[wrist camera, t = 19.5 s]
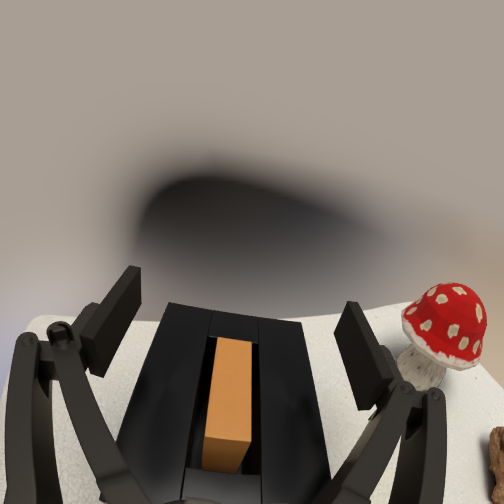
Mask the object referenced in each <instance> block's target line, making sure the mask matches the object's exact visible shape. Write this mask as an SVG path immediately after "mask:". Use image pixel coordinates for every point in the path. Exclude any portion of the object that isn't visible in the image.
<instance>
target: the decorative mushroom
mask: <svg viewBox="0 0 504 504" xmlns="http://www.w3.org/2000/svg"><path fill="white" fill-rule="evenodd" d="M401 317H402V329H403V331H404V333H405V334H406V335H407V337H408V338H409V340H410V341H411V342H412V344H411V345H409V346H408V347H407V348H406V349H405V350H404V351H403V352H402V353H401V354H400V355H399V357H398V358H397V367H398V369H399V371H400V373H401V375H402V377H403V379H404V381H408V382H410V383H411V384H413V386H414V387H415V389H416V390H417V391H421V392H423V391H427V390H428V389H429V388H431V387H437V386H438V385H439V384H440V382H441V380H442V379H443V377H444V374H445V372H446V367H447V368H451V369H454V370H458V371H462V370H465V369H469V368H472V367H475V366H476V365H478V363H479V360H480V357H481V354H482V339H483V336H484V333H485V330H486V326H487V318H486V312H485V309H484V306H483V303H482V302H481V300H480V298H479V297H478V296H477V294H476V293H475V292H474V291H473V290H472V289H470V288H469V287H467V286H465V285H462V284H458V283H450V282H448V283H442V284H438V285H436V286H434V287H432V288H430V289H429V290H428V291H427V292H426V293H425V294H424V295H423V296H422V297H421V298H420V299H419V300H418V301H415V302H413V303H411V304H410V305H409V306H407V307H406V308H405V309H403V310H402V314H401Z"/></svg>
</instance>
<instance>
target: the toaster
mask: <svg viewBox="0 0 504 504" xmlns="http://www.w3.org/2000/svg"><path fill="white" fill-rule="evenodd" d="M218 337H221V338H227V339H234V340H241V341H248V342H252V377H251V443H250V445H249V447H248V449H247V452H246V454H245V456H244V458H243V460H242V462H241V464H240V466H239V468H238V470H237V472H236V474H233V473H223V472H214V471H207V470H200V469H201V460H202V451H203V443H204V435H205V427H206V419H207V411H208V403H209V396H210V388H211V381H212V374H213V367H214V360H215V353H216V346H217V339H218ZM115 443H116V445H117V447H118V449H119V450H120V452H121V454H122V456H123V458H124V460H125V461H126V463H127V465H128V467H129V468H130V470H131V472H132V473H133V475H134V476H135V478H136V480H137V481H138V483H139V484H140V486H141V488H142V489H143V491H144V492H145V494H146V495H147V497H148V498H149V499H150V501H151V502H152V504H164V503H166V502H170V501H175V500H185V496H189V497H195V498H202V499H209V500H214V501H217V502H220V503H223V504H262V503H289V504H313V503H314V502H315V501H316V500H317V498H318V497H319V496H320V495H321V493H322V492H323V491H324V490H325V488H326V487H327V486H328V484H329V483H330V482H331V474H330V468H329V462H328V456H327V450H326V444H325V438H324V433H323V427H322V422H321V417H320V411H319V406H318V401H317V396H316V391H315V385H314V380H313V376H312V371H311V366H310V361H309V356H308V351H307V347H306V342H305V337H304V333H303V328H302V324H301V322H294V321H285V320H277V319H270V318H262V317H254V316H248V315H241V314H234V313H228V312H221V311H216V310H213V311H212V310H209V309H203V308H198V307H192V306H186V305H181V304H176V303H171V302H169V303H168V305H167V307H166V310H165V312H164V314H163V317H162V319H161V321H160V324H159V326H158V329H157V331H156V333H155V336H154V338H153V341H152V343H151V346H150V348H149V351H148V353H147V356H146V359H145V361H144V364H143V366H142V369H141V372H140V374H139V377H138V380H137V382H136V385H135V388H134V390H133V393H132V396H131V399H130V401H129V404H128V407H127V410H126V413H125V416H124V419H123V422H122V424H121V427H120V430H119V433H118V437H117V440H116V441H115ZM99 500H100V501H101V502H102V503H104V504H107V502H106V501H105V499H104V497H103V495H102V493H100V497H99Z"/></svg>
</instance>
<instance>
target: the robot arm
mask: <svg viewBox="0 0 504 504" xmlns="http://www.w3.org/2000/svg"><path fill="white" fill-rule="evenodd" d="M141 304H142V303H141V268H140V267H135V266H129V267H128V268H127V269H126V270H125V272H124V273H123V274H122V276H121V277H120V278H119V280H118V281H117V282H116V283H115V285H114V286H113V287H112V289H111V290H110V291H109V293H108V294H107V296H106V297H105V298H104V300H103V301H102V302H101V304H97V303H93V302H92V303H90V304H89V305H88V306H85V308H84V309H83V310H82V312H81V314H79V316H78V317H77V318H76V320H75V321H74V322H73V324H72V325H71V326H70V325H69V324H68V323H66V322H63V321H59V322H55V323H52V324H51V325H50V326H49V327H48V328H47V332H46V334H47V336H48V339H49V341H40V340H38V337H37V335H36V334H34V333H33V332H25V333H23V334H21V335H20V336H19V337H18V339H17V340H16V344H15V349H14V354H13V359H12V365H11V371H10V377H9V384H8V392H7V402H6V415H5V469H6V481H7V489H6V494H5V499H4V504H63V500H62V494H61V489H60V484H59V478H58V472H57V465H56V457H55V448H54V437H53V421H52V380H58V381H59V383H60V387H61V390H62V394H63V397H64V400H65V404H66V407H67V410H68V413H69V416H70V419H71V422H72V424H73V427H74V430H75V432H76V435H77V438H78V440H79V443H80V445H81V447H82V450H83V452H84V454H85V457H86V459H87V461H88V463H89V465H90V467H91V470H92V472H93V474H94V476H95V478H96V483H97V486H98V488H99V490H100V492H101V493H102V495H103V497H104V499H105V501H106V502H107V504H152V502H151V501H150V499H149V498H148V497H147V495H146V494H145V492H144V491H143V489H142V488H141V486H140V484H139V483H138V481H137V480H136V478H135V476H134V475H133V473H132V472H131V470H130V468H129V467H128V465H127V463H126V461H125V460H124V458H123V456H122V454H121V452H120V450H119V449H118V447H117V445H116V443H115V441H114V439H113V437H112V435H111V433H110V431H109V429H108V427H107V425H106V422H105V420H104V418H103V416H102V414H101V411H100V409H99V407H98V404H97V402H96V400H95V397H94V395H93V392H92V390H91V387H90V384H89V382H88V379H87V376H86V373H85V372H86V370H87V368H89V371H90V374H93V375H96V376H99V377H102V378H104V376H105V374H106V372H107V370H108V368H109V365H110V363H111V361H112V359H113V357H114V355H115V353H116V351H117V349H118V347H119V345H120V343H121V341H122V339H123V338H124V336H125V334H126V332H127V330H128V328H129V326H130V324H131V322H132V320H133V318H134V317H135V315H136V313H137V311H138V309H139V307H140V305H141ZM334 336H335V339H336V342H337V345H338V348H339V351H340V354H341V357H342V360H343V363H344V366H345V369H346V373H347V376H348V379H349V382H350V385H351V389H352V392H353V395H354V398H355V402H356V405H357V408H358V411H361V410H370V409H371V408H372V407H373V406H374V404H376V407H377V410H376V411H375V412H374V413H373V414H372V415H371V417H370V418H369V419H368V420H370V421H369V423H368V424H367V426H366V428H365V430H364V431H363V433H362V435H361V436H360V438H359V440H358V441H357V443H356V445H355V446H354V448H353V449H352V451H351V453H350V454H349V456H348V457H347V459H346V460H345V462H344V463H343V465H342V466H341V468H340V469H339V470H338V472H337V473H336V475H335V476H334V477H333V479H332V480H331V482H330V483H329V484H328V486H327V487H326V488H325V490H324V491H323V492H322V493H321V495H320V496H319V497H318V498H317V500H316V501H315V502H314V503H313V504H371V500H370V496H371V494H372V493H373V491H374V489H375V487H376V486H377V484H378V482H379V480H380V478H381V476H382V474H383V473H384V471H385V469H386V467H387V465H388V463H389V461H390V458H391V456H392V454H393V452H394V450H395V448H396V445H397V443H398V441H399V439H400V436H401V442H400V449H399V455H398V461H397V467H396V472H395V477H394V482H393V486H392V491H391V495H390V499H389V503H388V504H443V497H444V488H445V477H446V460H447V418H446V400H445V395H444V393H443V392H442V391H441V390H440V389H439V388H436V387H431V388H429V389H428V391H427V392H421V391H417V390H416V389H415V387H414V386H413V384H411V383H410V382H408V381H404V379H403V377H402V375H401V373H400V371H399V369H398V367H397V365H396V364H395V361H394V359H393V357H392V355H391V353H390V351H389V350H388V349H387V348H386V347H385V346H384V345H379V343H378V341H377V339H376V337H375V335H374V333H373V331H372V329H371V327H370V325H369V323H368V321H367V319H366V317H365V315H364V313H363V311H362V309H361V307H360V306H359V304H358V302H351V301H347V304H346V306H345V308H344V311H343V313H342V315H341V318H340V320H339V322H338V324H337V327H336V329H335V331H334ZM401 434H402V435H401ZM164 504H223V503H220V502H217V501H214V500H209V499H202V498H195V497H189V496H185V500H175V501H170V502H166V503H164ZM262 504H289V503H262Z"/></svg>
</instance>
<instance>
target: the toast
mask: <svg viewBox="0 0 504 504" xmlns="http://www.w3.org/2000/svg"><path fill="white" fill-rule="evenodd" d="M251 377H252V342H248V341H241V340H234V339H227V338H221V337H218V339H217V346H216V353H215V360H214V367H213V374H212V381H211V388H210V396H209V403H208V411H207V419H206V427H205V435H204V443H203V451H202V460H201V469H200V470H207V471H214V472H223V473H233V474H236V472H237V470H238V468H239V466H240V464H241V462H242V460H243V458H244V456H245V454H246V452H247V449H248V447H249V445H250V443H251Z"/></svg>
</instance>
